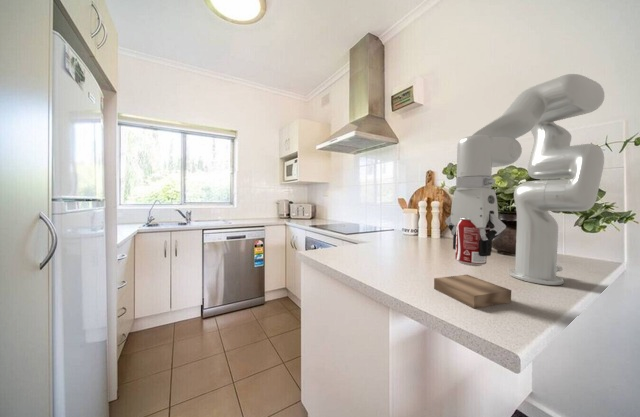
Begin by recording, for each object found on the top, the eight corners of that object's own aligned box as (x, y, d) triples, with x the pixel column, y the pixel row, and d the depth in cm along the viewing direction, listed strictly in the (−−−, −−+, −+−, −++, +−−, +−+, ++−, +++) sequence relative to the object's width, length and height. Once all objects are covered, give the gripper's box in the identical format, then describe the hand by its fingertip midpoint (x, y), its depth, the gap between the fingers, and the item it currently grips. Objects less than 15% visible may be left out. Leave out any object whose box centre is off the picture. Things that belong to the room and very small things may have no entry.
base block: (466, 284, 66) (466, 274, 66) (511, 302, 55) (511, 290, 55) (434, 288, 63) (434, 278, 63) (473, 308, 51) (474, 295, 51)
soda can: (491, 268, 54) (493, 219, 54) (461, 266, 56) (463, 219, 55) (478, 261, 61) (479, 217, 61) (451, 259, 62) (452, 217, 62)
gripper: (521, 182, 50) (518, 260, 51) (455, 187, 67) (453, 245, 68) (497, 181, 48) (494, 262, 49) (435, 186, 65) (433, 246, 66)
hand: (470, 251), depth 58 cm, fingers closed on soda can, 6 cm apart
